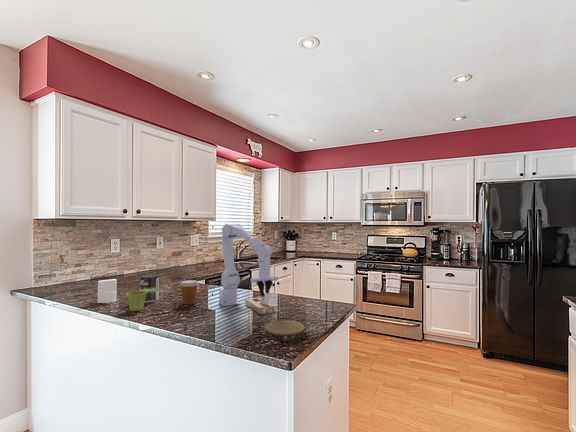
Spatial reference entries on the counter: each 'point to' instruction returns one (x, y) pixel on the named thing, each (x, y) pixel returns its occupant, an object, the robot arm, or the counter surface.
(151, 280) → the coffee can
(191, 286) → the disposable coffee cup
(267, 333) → the round tan disc
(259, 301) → the slotted wooden frame
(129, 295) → the plant pot
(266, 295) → the steel bracket tab
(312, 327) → the counter surface
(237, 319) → the counter surface
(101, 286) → the white rectangular block
